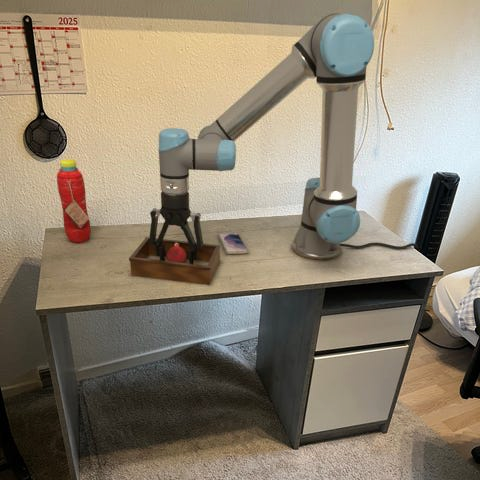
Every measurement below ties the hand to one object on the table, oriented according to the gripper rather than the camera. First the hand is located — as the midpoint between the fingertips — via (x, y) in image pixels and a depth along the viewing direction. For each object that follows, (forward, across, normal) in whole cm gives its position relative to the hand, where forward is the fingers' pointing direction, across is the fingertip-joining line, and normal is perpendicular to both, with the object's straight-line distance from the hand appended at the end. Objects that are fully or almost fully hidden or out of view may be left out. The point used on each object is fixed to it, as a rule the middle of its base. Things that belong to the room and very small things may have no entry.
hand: (176, 267), depth 138 cm
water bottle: (+1, -35, +10) cm, 36 cm away
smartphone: (0, +13, +20) cm, 24 cm away
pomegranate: (0, 0, 0) cm, 0 cm away
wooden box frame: (0, 0, 0) cm, 0 cm away
